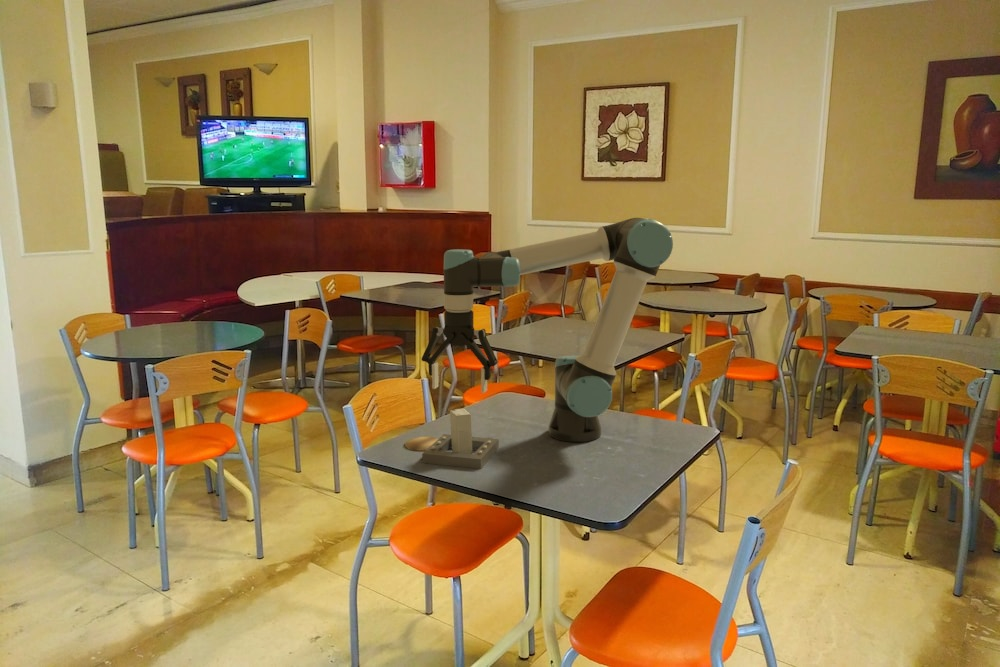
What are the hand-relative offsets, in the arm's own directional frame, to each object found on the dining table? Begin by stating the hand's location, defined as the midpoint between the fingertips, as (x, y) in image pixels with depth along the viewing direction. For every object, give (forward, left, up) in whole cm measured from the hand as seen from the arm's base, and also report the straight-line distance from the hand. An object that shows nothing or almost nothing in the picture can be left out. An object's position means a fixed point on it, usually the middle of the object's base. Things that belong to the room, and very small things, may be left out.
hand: (459, 389), depth 195 cm
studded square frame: (0, 0, -18) cm, 18 cm away
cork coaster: (+13, -5, -18) cm, 23 cm away
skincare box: (0, 0, -18) cm, 18 cm away
